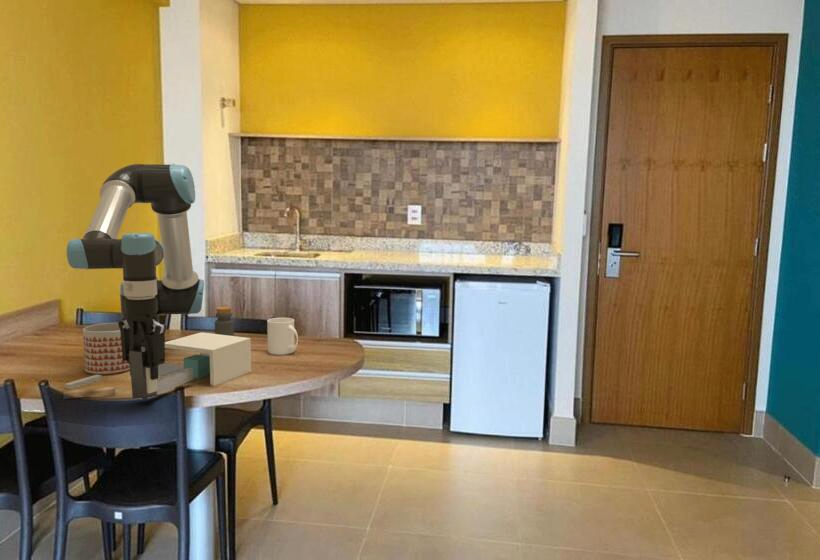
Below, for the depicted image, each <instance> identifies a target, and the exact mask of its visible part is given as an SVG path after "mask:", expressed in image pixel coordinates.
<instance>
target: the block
mask: <svg viewBox="0 0 820 560" xmlns="http://www.w3.org/2000/svg"><path fill="white" fill-rule="evenodd" d="M183 366H184V369H185V368H193V375H194V377H196V378H199V377H202V376H205V375H207V374H210V356H203V355H199V354H193V355H190V356H187V357H184V358H183Z"/></svg>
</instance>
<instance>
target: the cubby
mask: <svg viewBox="0 0 820 560" xmlns="http://www.w3.org/2000/svg"><path fill="white" fill-rule="evenodd" d="M251 339H252V338H250V337H243V336H235V335H234V336H228V335H220V334H215V333H210V332H201V331H200V332H198V333H194V334H191V335H187V336H182V337H178V338H176V339H172V340H168V341H165V349H169V350H170V349H171V350H178V351H185V352H192V353H198V355H203V356H210V375H209V377H210V378H209V379H210V381H209V383H210V386H213V387H215V386H218V385H219V384H223V383H225V382H227V381H231V380H232V379H233V380H234V379H235V378H238V377H240V376H243V375H246V374H248V373H251V372H252V345H251Z"/></svg>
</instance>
